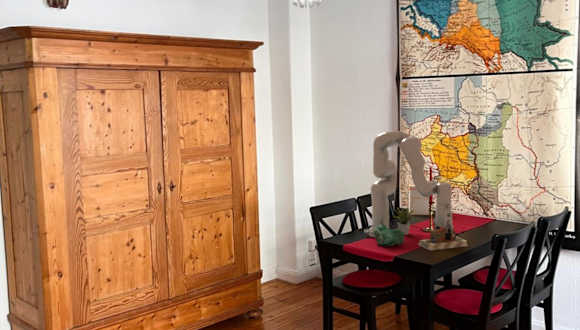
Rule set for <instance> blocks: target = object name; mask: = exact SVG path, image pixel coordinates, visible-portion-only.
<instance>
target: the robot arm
mask: <svg viewBox="0 0 580 330" xmlns="http://www.w3.org/2000/svg"><path fill="white" fill-rule="evenodd" d="M372 145H373V148H372V149H373V157H372V158H373V159H372V160H373V163H372V173H373V175H374V177H375V178H377V179H380V180H377V181H375V182H373V183H372V184H371V187H370V196H371V209H372V210H371V227H370V228H369V229H364V230H363V232H364V233H365V234H369V236H370V237H373V238H375V235H374V231H373V230H374V228H376V227H377V226H378V225H380V224H384V225H385V226H386V227H387V228H388V229H390V202H389V198H388V196H390V195H391V196H392V195H393V194H395V191H396V189H397V175H398V174H397V173H398V170H397V169H398V168H397V166H396V164H395V162H394V161H393V160H391V159H389V158H390V157H389V156H390V155H389V154H390V153H389V149H388V148H391V147H399V149H400V150H401V153H402V155H403V156H404V158H405V160H406V162H407V164H408V165H409V168H410V173H411V180H412V182H413V184H414V185H415V187H416V189H417V190H418V192H419V193H420V194H421V195H422V196H424V197H428V196H431V195H433V196H436V206H435V213H434V214H435V216H434V218H433V220H432V221H433V225H434V227H433V228H434V230H435V229H443V228H444V229H445V231H446V233H445V240H451V233H452V230H454V224H453V213H452V184H451V183H450V182H441V181H436V180H429V181H428V180H427V178H426V176H425V173H424V171H425V169H424V168H425V165H426V160H425V158H424V156H423V155H422V153H421V151H420V150H422V142H421V140H420V139H419V138H418V137H417V136H414V135H412V134H408V133H406V132H404V131H401V130H390V131H385V132H382V133H380V134H378V135H377V136H376V137H375V138H374V140H373V144H372ZM447 229H448V230H447Z"/></svg>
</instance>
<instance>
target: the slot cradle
mask: <svg viewBox="0 0 580 330" xmlns="http://www.w3.org/2000/svg"><path fill="white" fill-rule="evenodd" d="M418 242H419V243H417V245H418V246H420V247H422V248H424V249H426V250H429V251H437V250H446V249H453V248H462V247H468V246H469V244H467V240H465V239H464V238H461V237H458V236H456V239H455V241H452V242H444V243H435V244H433V243H431V241H430V238H429V239H428V238H427V239H420V240H419V241H418Z"/></svg>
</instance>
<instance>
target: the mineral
mask: <svg viewBox="0 0 580 330" xmlns="http://www.w3.org/2000/svg"><path fill="white" fill-rule="evenodd" d="M373 231H374V235H375V237H374V238H375V241H376V243H377V244H378V245H379V246H381V247H382V246H383V247H391V246H399V245H403V244H404V241H405V235H404V233H403V232H402V231H401V230H400V229H399V228H394V229H391V228H389V229H388V228H387V227H386V226H385V225H384V224H380V225H378V226H377V227H376V228H374V230H373Z"/></svg>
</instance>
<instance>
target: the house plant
mask: <svg viewBox="0 0 580 330" xmlns="http://www.w3.org/2000/svg"><path fill="white" fill-rule="evenodd" d="M396 208H397V210H396V209H394V212H396V214H397V215H398V216H394V218H395V219H396V218H397V219H399V222H397V226H398V228H397V229H400V230H401V231H402V232H403V233H404V236H407V235H409V233H410V227H411V223H410V222H409V221H410V220H414V216H415V215H410V214H411V213H414V212H413V210H412V211H411V212H409V205H407V206H406V209H404V206H401V208H402V209H399V207H396ZM415 210H416V209H415Z"/></svg>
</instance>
